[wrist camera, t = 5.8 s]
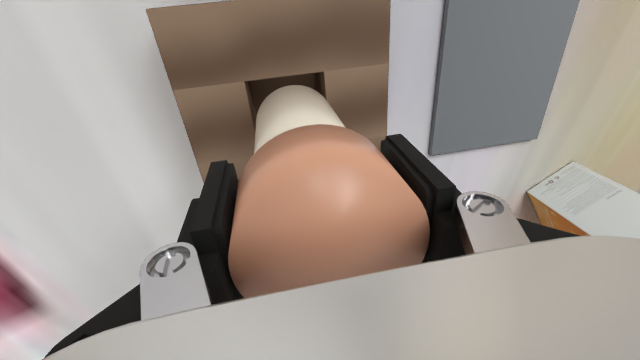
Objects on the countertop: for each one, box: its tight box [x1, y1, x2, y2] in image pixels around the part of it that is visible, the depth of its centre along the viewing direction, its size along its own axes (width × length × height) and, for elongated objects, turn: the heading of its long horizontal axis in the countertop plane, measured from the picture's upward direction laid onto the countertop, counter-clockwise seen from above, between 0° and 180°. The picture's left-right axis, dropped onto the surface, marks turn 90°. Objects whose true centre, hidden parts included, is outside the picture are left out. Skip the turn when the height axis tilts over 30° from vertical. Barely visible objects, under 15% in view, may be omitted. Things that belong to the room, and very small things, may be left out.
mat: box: [429, 0, 580, 156], centre depth 27 cm, size 16×12×1 cm
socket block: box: [146, 0, 391, 182], centre depth 23 cm, size 14×14×6 cm
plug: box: [228, 85, 430, 298], centre depth 13 cm, size 6×6×11 cm
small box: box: [527, 161, 640, 239], centre depth 32 cm, size 8×6×13 cm
